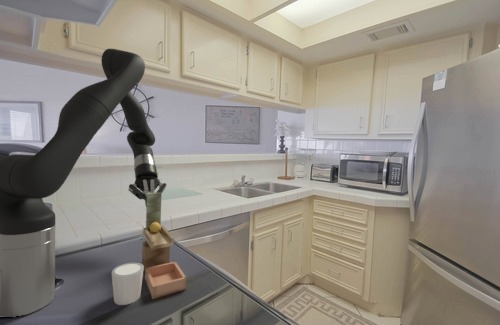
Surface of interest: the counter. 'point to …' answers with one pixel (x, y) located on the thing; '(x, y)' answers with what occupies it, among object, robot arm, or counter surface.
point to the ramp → (154, 215)
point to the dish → (165, 279)
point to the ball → (154, 227)
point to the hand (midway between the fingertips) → (151, 207)
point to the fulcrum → (154, 256)
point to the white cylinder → (127, 283)
